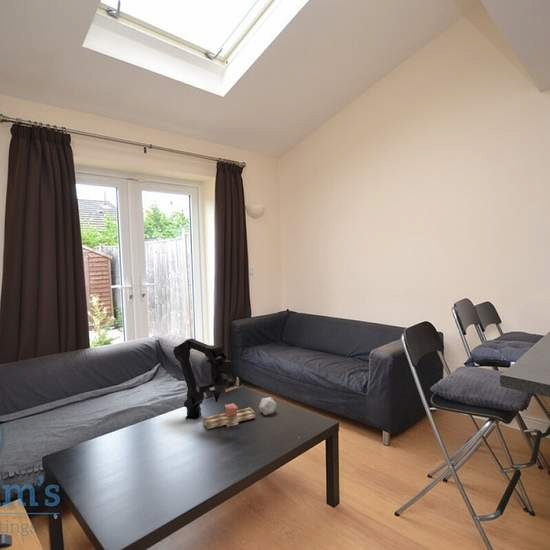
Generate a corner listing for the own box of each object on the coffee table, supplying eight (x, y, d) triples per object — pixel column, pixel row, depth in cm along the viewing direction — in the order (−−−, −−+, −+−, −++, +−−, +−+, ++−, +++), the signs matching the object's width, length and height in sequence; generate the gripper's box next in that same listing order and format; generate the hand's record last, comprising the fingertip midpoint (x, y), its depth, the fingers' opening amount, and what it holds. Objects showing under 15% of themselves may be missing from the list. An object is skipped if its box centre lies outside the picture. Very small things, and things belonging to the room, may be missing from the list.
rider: (228, 419, 183) (228, 409, 183) (224, 415, 189) (224, 405, 188) (237, 417, 186) (237, 407, 185) (233, 413, 191) (233, 403, 191)
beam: (208, 431, 176) (207, 424, 176) (202, 423, 185) (202, 416, 185) (256, 420, 188) (256, 412, 188) (248, 412, 197) (248, 405, 197)
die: (255, 414, 196) (260, 404, 190) (260, 401, 203) (264, 391, 197) (270, 420, 196) (275, 410, 190) (274, 406, 203) (279, 396, 197)
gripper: (201, 379, 171) (202, 411, 172) (238, 373, 179) (239, 403, 180) (195, 372, 181) (196, 403, 181) (230, 367, 189) (231, 396, 190)
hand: (216, 401), depth 183 cm, fingers closed
